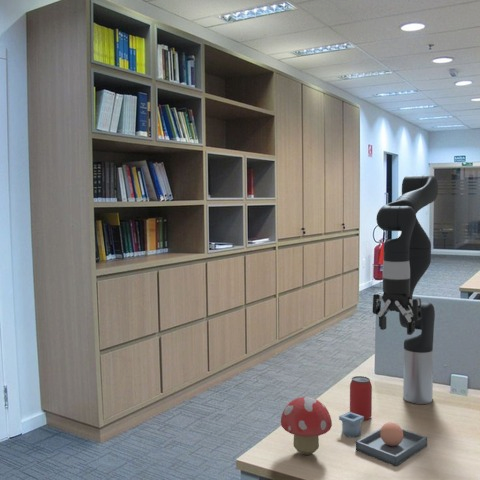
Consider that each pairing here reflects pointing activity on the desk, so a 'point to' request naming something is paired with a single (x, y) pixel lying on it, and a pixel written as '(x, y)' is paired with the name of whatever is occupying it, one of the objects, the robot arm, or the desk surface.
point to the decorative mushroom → (306, 423)
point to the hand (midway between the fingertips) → (396, 331)
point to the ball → (391, 434)
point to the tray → (391, 447)
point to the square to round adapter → (351, 424)
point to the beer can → (361, 396)
